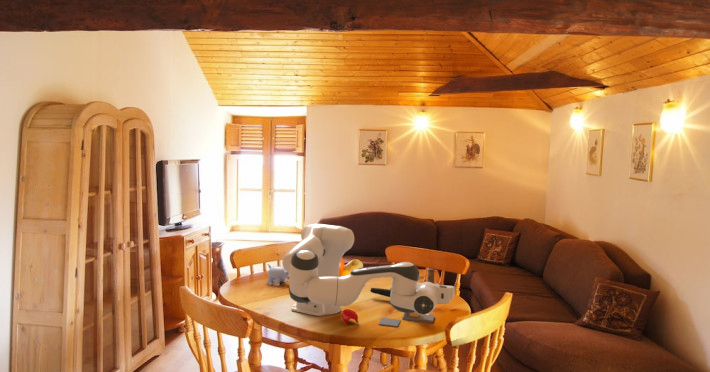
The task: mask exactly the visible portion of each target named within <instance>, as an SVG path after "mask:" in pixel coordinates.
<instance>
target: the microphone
mask: <svg viewBox="0 0 710 372" xmlns="http://www.w3.org/2000/svg"><path fill="white" fill-rule="evenodd" d="M370 293H373V294H376V295H379V296H383V297H388V298H390V294H391V288H390V289H389V288H388V289H387V288H377V287H371V288H370ZM389 304H390V305H391V303H390V302H389Z"/></svg>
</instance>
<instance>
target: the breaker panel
mask: <svg viewBox="0 0 710 372" xmlns="http://www.w3.org/2000/svg"><path fill="white" fill-rule="evenodd" d="M434 319H435V314H431V313H428V314H425V315H422V314H420V315H419V317H412V316H410V313H404V312H403V316H402V319H401V320H403V321H405V320H406V321H412V322H422V323H429V324H433V323H434Z"/></svg>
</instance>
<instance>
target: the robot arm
mask: <svg viewBox="0 0 710 372" xmlns="http://www.w3.org/2000/svg"><path fill="white" fill-rule="evenodd" d="M300 235H301V236H300V237H301V240H300V241H299V242H298V243H296V244H295V245H293V246H292V247H291V248H290V249H289V250H288V251H287V252H286V253H285V255H284V256H283V258H282V261H281V262H282V267H283V268H284V269H285V271H286V272H288V273H289V277H290V278H289V279H288V282H289V283H288V284H289V287H288V293H289V296H290V299H291V300H293V301H295V303H293V304H292V306H291V311H293V312H296V313H297V312H298V313H302V314H307V315H313V316H317V317H322V316H326V315H334V314H338V313H340V312H342V307H348V306H351V305H352V304H353V303H355V302H356V301H357V299H358V298H359V296H360V295H361V293H362V291H363V289H364V288H365V286H366V284H367V283H368V282H369V281H370V280H372V279H379V278H389V277H392V279H391V287H390V289H391V294H390V297H389V304H390V303H391V304H390V305H391V306H392V307H393V308H394V310H396V311H398V312H400V313H403V314H404V313H414V312H417V313H418V314H422V315H425V314H431V313H432V312H433V311H434V310H435V308H436V306H437V305H447V304H448V305H449V304H450V301H452V300H453V298H454V297H455V290H456V289H455V286H454V285H445V284H439V283H436V282H434V283H435V284H434V283H431V282H427V281H424V282H419V276H420V271H419V268H418V267H417V265H415V263H413V262H409V261H403V262H396V263H391V264H380V265H372V266H364V267H363V266H362V267H357V268H355V269H352V270H351V272H350V273H348V274H346V275H343V276H339V274H340V263H341V260H342V257H343V256H344V254H345V253H346V252H347V251H349V250H350V249H352V247H353V245H354V243H355V235H354V232H353V230H352V229H350V228H347V227H344V226H342V225H333V224H326V223H324V224H323V223H309V224H306V225H304V227H303V228H302V230H301V234H300Z"/></svg>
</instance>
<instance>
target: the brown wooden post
mask: <svg viewBox="0 0 710 372" xmlns="http://www.w3.org/2000/svg"><path fill="white" fill-rule="evenodd" d="M426 280H427V281H426V282H431V283H434V284H435V283H436V282H435V268H427V269H426Z"/></svg>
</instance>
